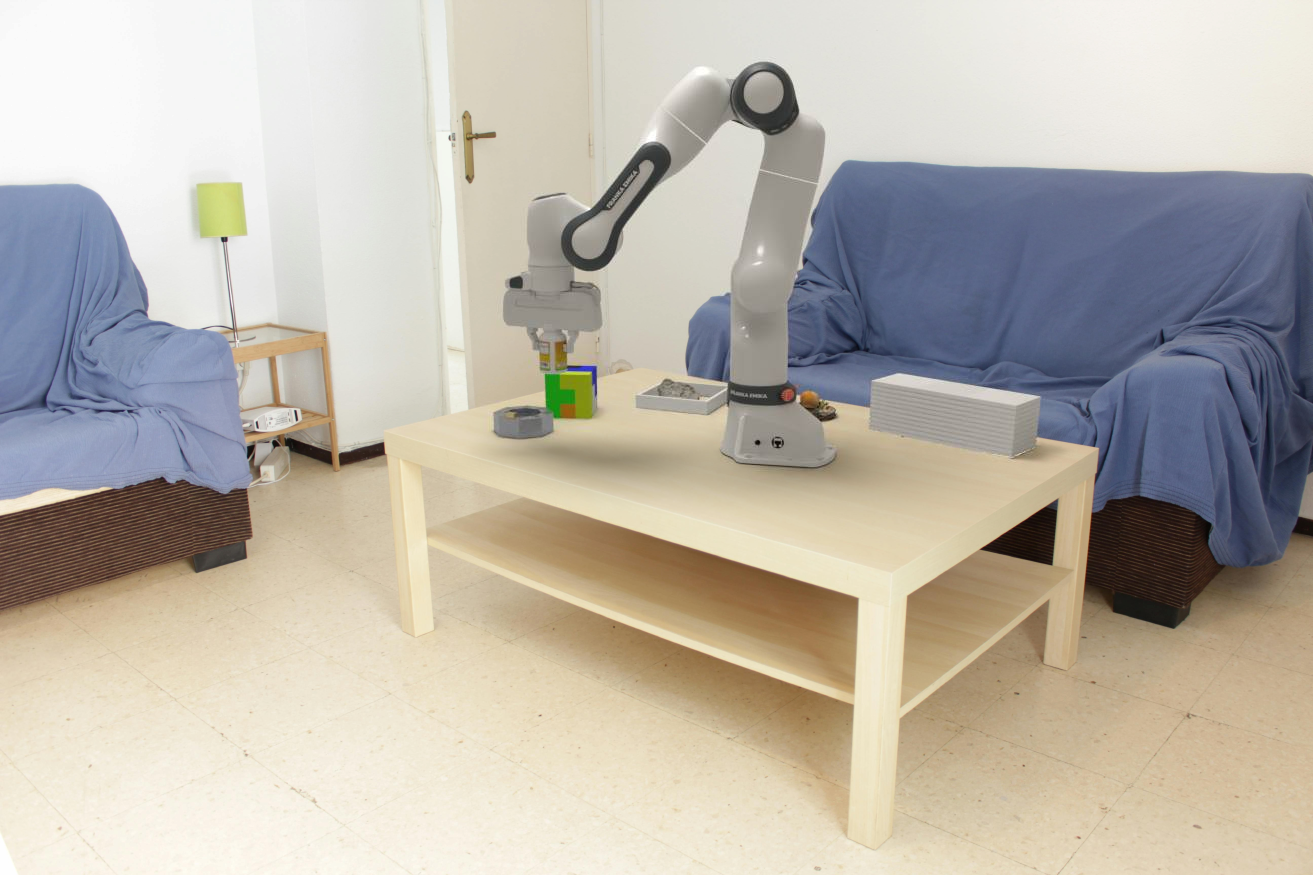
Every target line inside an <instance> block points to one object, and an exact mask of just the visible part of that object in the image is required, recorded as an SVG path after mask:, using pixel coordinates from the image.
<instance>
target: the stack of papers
mask: <svg viewBox="0 0 1313 875" xmlns="http://www.w3.org/2000/svg"><path fill="white" fill-rule="evenodd" d="M870 384H871V387H870V389H871V390H870V400H869V402H870V404H869V407H870V408H869V417H868V418H869V420H868V425H869V426H868V430H874V431H878V432H884V433H887V434H893V435H897V436H901V437H906V438H911V439H915V440H921V441H926V442H929V443H930V442H931V443H933V444H934V443H935V444H940V445H945V446H948V447H953V448H959V449H963V450H967V449H968V451H972V450H974V451H973V452H977V451H979V452H978V453H981V452H986V453H991V454H997V455H1003V456H1009V457H1013V456H1015V455H1017V454H1019V453H1022V452H1024V451H1027V450H1029V449H1032V448H1034V447H1036V448H1037V442H1038V441H1037V439H1038V429H1039V419H1040V410H1041V400H1042V396H1039V395H1033V394H1028V393H1021V392H1015V391H1009V390H1003V389H998V388H997V389H996V388H991V387H984V386H979V385H974V384H973V385H972V384H968V383H967V384H966V383H961V382H954V381H950V380H943V379H937V378H936V379H935V378H930V377H923V376H918V375H913V374H906V373H899V372H898V373H893V374H891V375H887V376H884V377H880V378H876V379H872V380H871V383H870ZM1034 449H1035V448H1034ZM1032 450H1033V449H1032ZM986 453H985V454H986ZM991 454H990V455H991Z"/></svg>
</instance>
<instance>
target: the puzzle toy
mask: <svg viewBox="0 0 1313 875" xmlns="http://www.w3.org/2000/svg"><path fill="white" fill-rule="evenodd" d="M597 368H598V366H597V365H573V364H572V365H571V364H570V365H569V364H567V371H566V372H565V373H560V374H545V373H544V391H545V392H544V393H545V394H544V396H545V407H547V408H548V409H549V410H551V411H552V412H553V419H576V420H577V419H579V420H580V419H583V420H587V419H588V420H591V419H592V418H593V416H594V414H595V413H596V412H597V410H598V370H597Z"/></svg>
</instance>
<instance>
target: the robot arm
mask: <svg viewBox="0 0 1313 875" xmlns="http://www.w3.org/2000/svg"><path fill="white" fill-rule="evenodd" d="M793 83H794V82H793V81H792V79H791V76H790V75H789V73H788V72H787V71H786V70H785V69H784V68H783V67H782V66H780V65H778V64H776V63H774V62H771V61H758V62H753V63H752V64H751V63H750V65H748V66H746V67H745V68H744V69H743V70H741V72H740V73H739V74H738V76H736V77H735V76H734V77H728V76H726V75H724V74H723V73H722V72H721V71H719V70H718V69H716V68H714V67H710V66H706V65H700V66H696V67H694V68H693V69H691V70H690V71H689V72H688V73H687V74H686V75H685V76H684V77H683V78H681V79H680V81H679V82H677V84H676V85H675V86H674V87H673V88H672V89H671V90H670V91H669V92H668V94H667V95H666V96H665V97H664V98H663V100H662V101H661V102H660V104H659V105H658V106H657V107H656V109H655V110H654V112H652V114H651V116H650V118H649V119H648V121H647V123H646V124H645V126H644V128H643V129H642V132H641V134H640V136H639V138H638V140H637V143H636V145H635V147H634V148H633V151H632V154H631V155H630V157H629V159H628V161H627V162H626V164H625V166H624V168H623V169H622V171H621V172H620V174H619V175H618V176H617V177H616V178H615V180H614V181H613V182H612V184H611V185H610V186H609V187H608V189H607V190H606V191H605V192H604V194H603V195H602V196H601V197H600V198H599V200H598V201H597V202H596V203H595V204H594V205H593V206H592V207H590V206H587V205H586V204H583V203H581V202H579V201H578V200H577V199H575V198H573V197H572V196H571V195H570V194H569V193H567V192H555V193H551V194H545V195H541V196H538V197H535V198H533V200H531V202H530V203H529V205H528V208H527V209H528V210H527V216H526V218H527V219H526V220H527V221H526V242H527V246H528V249H529V255H528V256H529V257H528V259H527V271H523V272H520V273H519V274H515V275H512V276H509V277H506V278H505V279H504V285H505V289H507V290H506V291H505V293H504V295H503V302H502V319H503V321H504V323H505V325H507V326H508V327H521V328H522V327H523V328H526V334H527V336H528V338H529V339H530V341H531V343H532V350H533V351H538V352H539V336H538V334H537V332H539V329H542V328H543V327H544V324H552V326H553V328H554V329H558V330H562V331H567V336H568V337H569V339H567V343H566V344H563V348H564V349H563V352H564V353H567V354H573V353H574V351H575V344H576V341H577V339H579V338H578V337H579V336H580V332H584V333H585V332H586V333H588V332H589V333H594V332H597V331H599V330H600V329H601V328H602V326H603V314H602V306H601V301H602V299H601V298H602V297H601V295H602V294H601V289H600V287H599V286H597V285H595V283H593V282H590V281H587V282H582V281H576V280H575V269H578V270H580V271H584V272H595V271H599V270H601V269H603V268H605V267H606V266H608V264H610V263H611V262H612V260H613V259H614V257H615V256H616V255H617V254H618V253H619V251H620V249H621V248H622V246H623V243H624V231H623V229H624V228H625V226H627V223H628V222H629V221H630V219H631V218H632V217H633V216H634V214H635V213H636V212H637V211H638V209H639V208H641V207H640V206H641V205H643V203H644V201H645V200H647V198H648V196H650V194H651V193H652V192H653V191H654V190H655V189H656V188H657V187H659V186H660V185H661V184H662V183H664V182H666V181H667V180H669V179H670V178H671V177H673V176H674V175H677V174H679V173H680V172H681V171H682V170H683V169H684V168H686V167H687V166H688V165H689V164H690V163H691V162H692V161H694V159H695V158H696V157H697V156H698V155H699V154H700V153H701V151H702V150H703V149H704V148H705V147H706V145H707V144H708V143H709V141H710V140H711V139H712V137H713V136H714V135H715V133H716V132H717V131H719V129H720V128H721V127H722V126H723V125H724V124H726V123H727V122H730V121H732V122H735V123H738V124H739V125H742V126H744V127H746V128H749V129H751V130H757V131H760V132H761V133H762V135H763V140H764V148H763V154H762V159H761V162H760V166H759V170H758V172H757V173H758V174H757V177H756V182H755V185H754V187H753V188H754V189H753V193H752V197H751V199H750V200H751V201H750V204H749V205H750V206H749V208H748V213H747V219H746V222H745V227H744V231H743V237H742V240H741V246H740V248H739V249H740V250H739V254H738V256H737V258H736V260H735V261H734V263H733V265H732V267H731V271H730V348H729V349H730V352H729V353H730V355H729V356H730V358H729V370H730V371H729V379H728V380H727V385H726V386H727V402H726V405H727V406H726V407H727V408H728V409H727V417H726V418H727V419H726V424H725V428H724V429H725V430H724V434H723V439H722V441H721V445H720V449H719V450H720V452H721V453H722V454H724V455H726V456H728V457H730V458H732V459H733V460H734V461H735V462H737V463H740V464H752V465H753V464H754V465H769V466H785V467H803V468H806V467H807V468H818V467H823V466H825V465H827V464H829V463H830V462H832V461H833V460H834V459H835V457H836V454H837V449H836V447H835V446H834V445H833V444H831V443H826V437H825V430H824V426H823V424H822V422H820V420H819V419H817V418H816V417H815V416H814V415H812V414H811V413H810V412H809V411H807V410H806V409H805V408H804V407H803V406H802V405H800V404H799V402H798V401H797V398H798V396H797V394H798V392H797V391H799V389H798V388H799V384H795V385H794V384H792V383H791V382H790V381H789V380H788V364H789V361H788V360H789V359H788V358H789V357H788V356H789V326H788V324H789V322H788V321H789V320H788V301H789V300H790V298H791V296H792V293H793V291H794V289H793V288H794V285H795V283H796V282H795V281H796V277H797V274H798V273H797V272H798V268H799V264H800V260H801V254H802V249H803V244H804V240H805V234H806V230H807V229H806V228H807V224H808V221H809V217H810V215H811V211H812V206H813V203H814V200H815V199H814V198H815V196H816V192H817V189H818V184H819V180H820V176H821V173H822V168H823V167H822V166H823V161H824V155H825V154H824V153H825V146H826V131H825V128H824V126H823V125H822V124H821V123H820V121H818V120H817V119H815V118H814V117H812V116H810V115H807V114H804V113H801V112H800V107H799V103H798V100H797V95H796V89H795V87H794V84H793Z"/></svg>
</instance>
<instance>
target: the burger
mask: <svg viewBox="0 0 1313 875" xmlns="http://www.w3.org/2000/svg"><path fill="white" fill-rule="evenodd" d="M798 403H799V404H800V405H802V406H803V407H804V408H805V409H806V410H807V411H809V412H810V413H811V414H812V415H814V416H815V417H816V418H817V419H819V420H820V422H821V423H822V422H827V421H833V420H834V419H836V416H837V414H836V411H837V410H836V408H835V407H833V406H831V405H829V404H830V402H826V399H825V398H824V399H822V400H820V396H819V394H818V393H817V392H815V391H812V389H810V390H807V391H803V392H802V393H801V395H800V397H799V402H798Z"/></svg>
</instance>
